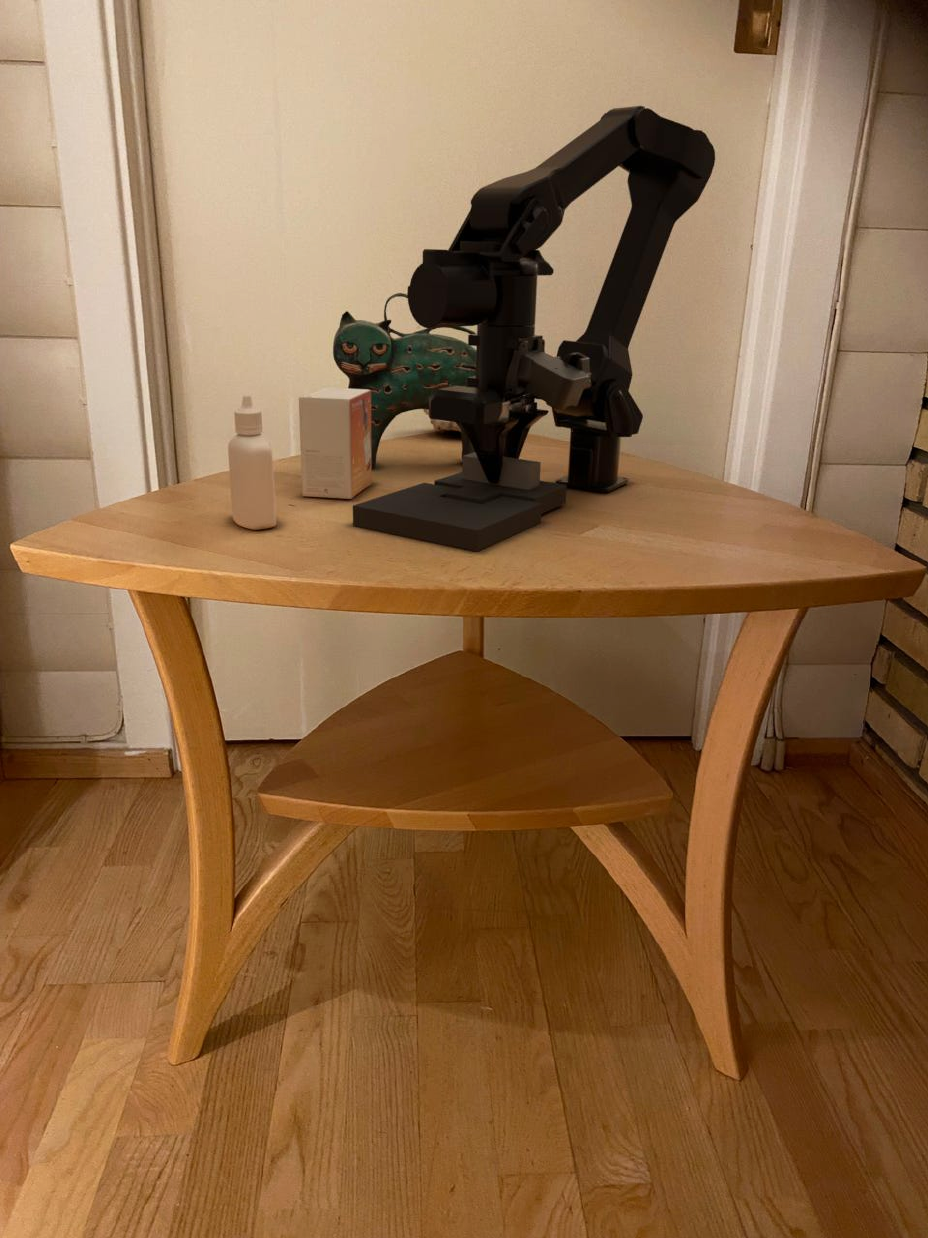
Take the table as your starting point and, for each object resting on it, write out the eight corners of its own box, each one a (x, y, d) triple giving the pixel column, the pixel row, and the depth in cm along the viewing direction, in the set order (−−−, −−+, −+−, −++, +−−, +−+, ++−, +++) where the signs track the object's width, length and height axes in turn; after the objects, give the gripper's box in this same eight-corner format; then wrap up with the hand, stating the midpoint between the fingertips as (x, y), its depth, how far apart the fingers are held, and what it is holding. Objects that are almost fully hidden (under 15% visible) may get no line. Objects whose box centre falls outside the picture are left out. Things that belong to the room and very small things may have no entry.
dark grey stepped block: (469, 486, 106) (470, 446, 105) (565, 503, 101) (568, 460, 99) (412, 506, 98) (413, 462, 96) (515, 525, 92) (517, 479, 90)
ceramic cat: (337, 472, 113) (332, 293, 105) (331, 461, 118) (326, 289, 111) (500, 467, 117) (506, 295, 110) (486, 456, 123) (492, 292, 116)
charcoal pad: (424, 500, 101) (424, 482, 101) (541, 522, 94) (542, 502, 94) (352, 525, 92) (352, 505, 91) (476, 551, 85) (477, 530, 84)
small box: (351, 501, 101) (349, 399, 97) (300, 497, 102) (297, 396, 98) (373, 483, 108) (372, 388, 104) (326, 480, 109) (323, 385, 105)
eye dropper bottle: (279, 515, 95) (273, 391, 90) (275, 531, 90) (268, 400, 85) (234, 515, 94) (226, 391, 90) (227, 531, 89) (218, 400, 85)
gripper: (532, 336, 83) (524, 511, 89) (620, 324, 98) (608, 475, 103) (426, 327, 88) (424, 493, 94) (524, 317, 103) (518, 461, 109)
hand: (500, 480), depth 100 cm, fingers closed on dark grey stepped block, 2 cm apart
